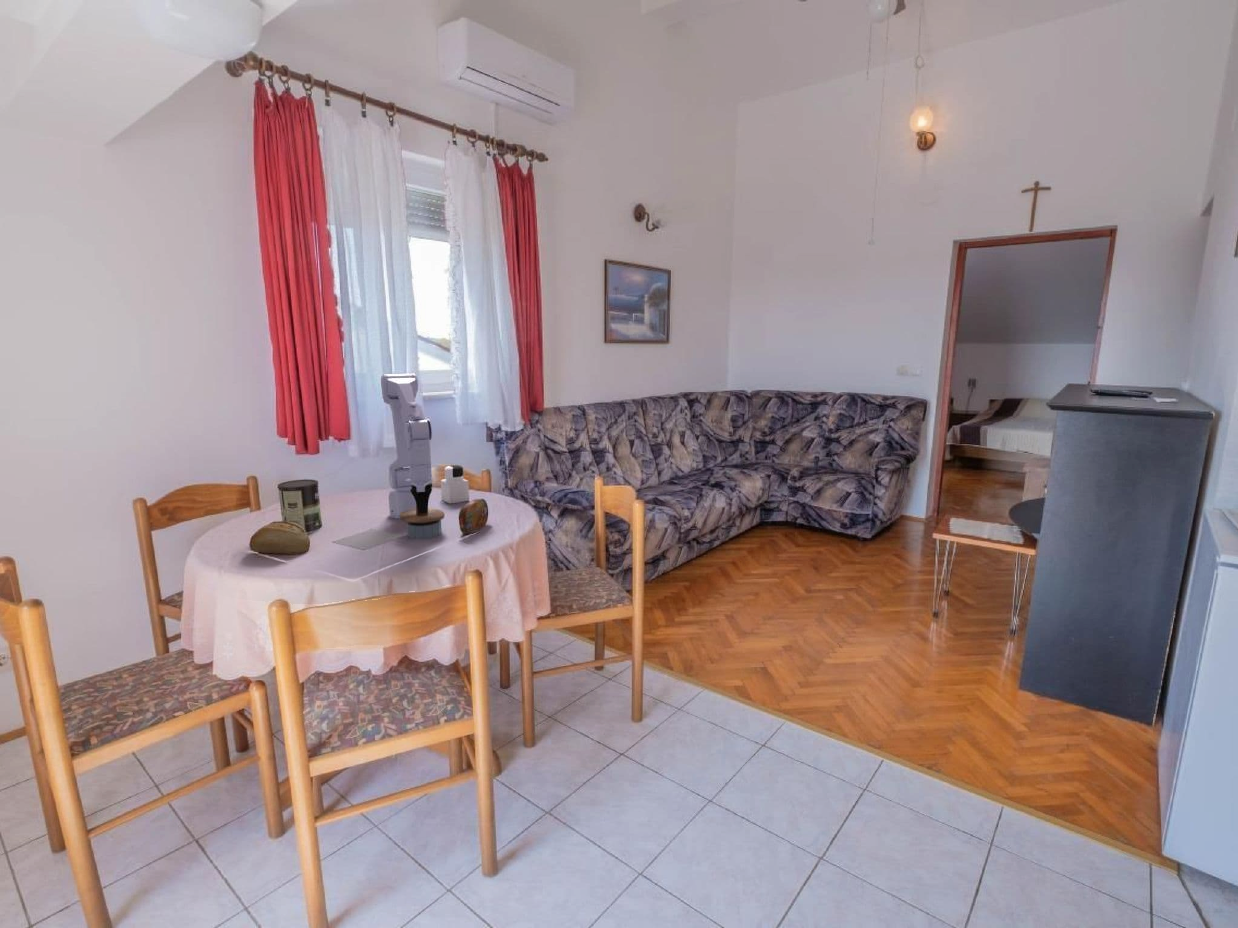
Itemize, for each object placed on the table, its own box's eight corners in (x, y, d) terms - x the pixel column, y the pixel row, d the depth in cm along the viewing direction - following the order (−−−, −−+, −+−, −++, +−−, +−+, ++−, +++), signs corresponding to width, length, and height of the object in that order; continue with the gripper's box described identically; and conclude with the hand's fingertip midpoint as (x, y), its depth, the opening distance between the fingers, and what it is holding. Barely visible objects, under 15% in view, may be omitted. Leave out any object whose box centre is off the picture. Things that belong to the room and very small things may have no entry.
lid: (390, 517, 169) (389, 502, 168) (422, 508, 180) (422, 494, 179) (421, 525, 164) (421, 509, 163) (453, 515, 174) (453, 500, 173)
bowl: (400, 536, 171) (399, 523, 170) (425, 528, 179) (424, 515, 178) (424, 541, 167) (423, 527, 166) (448, 533, 175) (447, 519, 174)
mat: (331, 543, 165) (331, 541, 165) (371, 530, 177) (371, 529, 176) (364, 551, 159) (363, 549, 159) (403, 537, 170) (403, 536, 170)
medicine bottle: (460, 496, 215) (459, 463, 213) (469, 500, 210) (468, 466, 207) (441, 499, 211) (439, 465, 208) (449, 504, 205) (447, 469, 203)
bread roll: (263, 546, 164) (260, 517, 162) (319, 546, 164) (316, 517, 162) (241, 558, 154) (237, 528, 153) (301, 559, 154) (297, 528, 153)
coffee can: (320, 523, 184) (316, 477, 181) (324, 532, 175) (319, 484, 172) (281, 528, 178) (276, 481, 176) (283, 538, 170) (278, 489, 167)
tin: (468, 538, 170) (466, 509, 169) (457, 537, 171) (455, 508, 169) (489, 522, 185) (488, 495, 183) (480, 522, 185) (478, 495, 184)
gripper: (406, 459, 175) (409, 505, 177) (403, 469, 161) (406, 519, 164) (432, 458, 176) (434, 503, 179) (431, 468, 163) (434, 517, 165)
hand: (423, 511), depth 172 cm, fingers closed on lid, 3 cm apart
